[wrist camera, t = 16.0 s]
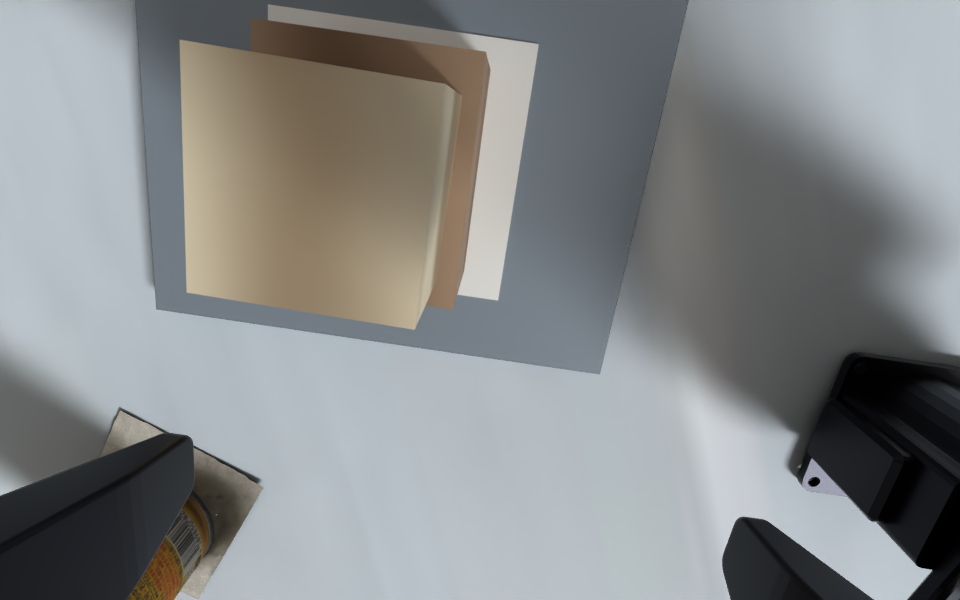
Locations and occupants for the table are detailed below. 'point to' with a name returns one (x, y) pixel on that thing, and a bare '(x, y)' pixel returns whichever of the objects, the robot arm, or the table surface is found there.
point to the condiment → (190, 520)
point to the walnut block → (418, 62)
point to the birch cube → (314, 183)
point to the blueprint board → (501, 168)
